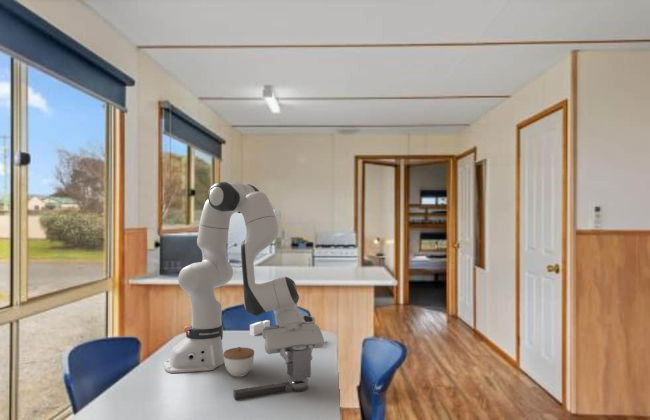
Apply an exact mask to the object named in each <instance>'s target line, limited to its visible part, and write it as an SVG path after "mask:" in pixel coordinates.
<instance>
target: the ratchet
mask: <svg viewBox="0 0 650 420" xmlns="http://www.w3.org/2000/svg"><path fill="white" fill-rule="evenodd" d="M308 389H309V378H303V379H296V380H293V379H292V378H291V377H290V378H289V379H288V381H283V382H278V383H271V384H265V385H258V386H252V387H246V388H240V389H233V395H232V396H233V399H234V400H235V401H237V400H244V399H249V398H256V397H263V396H268V395H275V394H279V393H280V394H282V393H288V392H289V393H290V392H294V393H300V392H305V391H308Z"/></svg>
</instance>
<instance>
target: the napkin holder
mask: <svg viewBox="0 0 650 420" xmlns="http://www.w3.org/2000/svg"><path fill="white" fill-rule="evenodd" d="M265 327H271V320H270V319H269V320H268V319H266V320H263V321H262V320H261V321H256V322H254V323H251V324H249V336H250V337H251V336H253V337H255V336H257V335H259V334H262V330H263V329H264V328H265Z"/></svg>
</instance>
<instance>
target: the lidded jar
mask: <svg viewBox="0 0 650 420" xmlns="http://www.w3.org/2000/svg"><path fill="white" fill-rule="evenodd" d="M223 353H224V362H225V363H224V366H225V369H226V371H227V372H228V373H229V374H230V376H232V377H243V376H247V374H248V373H249V372H250V371H251V370H252V368H253V365H254V360H255V350H254V349H253V348H250V347H241V346H237V347H232V348H229V349H226V350H225V351H223Z"/></svg>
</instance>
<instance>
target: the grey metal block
mask: <svg viewBox="0 0 650 420" xmlns="http://www.w3.org/2000/svg"><path fill="white" fill-rule="evenodd" d="M311 354H312V353H311V350H310V349H309V348H308V347H307V346H306V345H304V344H301V345H293V346H291V347H290V348H287V352H286V355H287V356H290V359H291V363H288V364H286V373H287V376H289V377H290V379H291V378H292V379H293V380H296V379H303V378H307V379H309V378H311V377H312V376H311V374H312V373H311V371H312V369H311V361H312V360H311Z"/></svg>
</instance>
